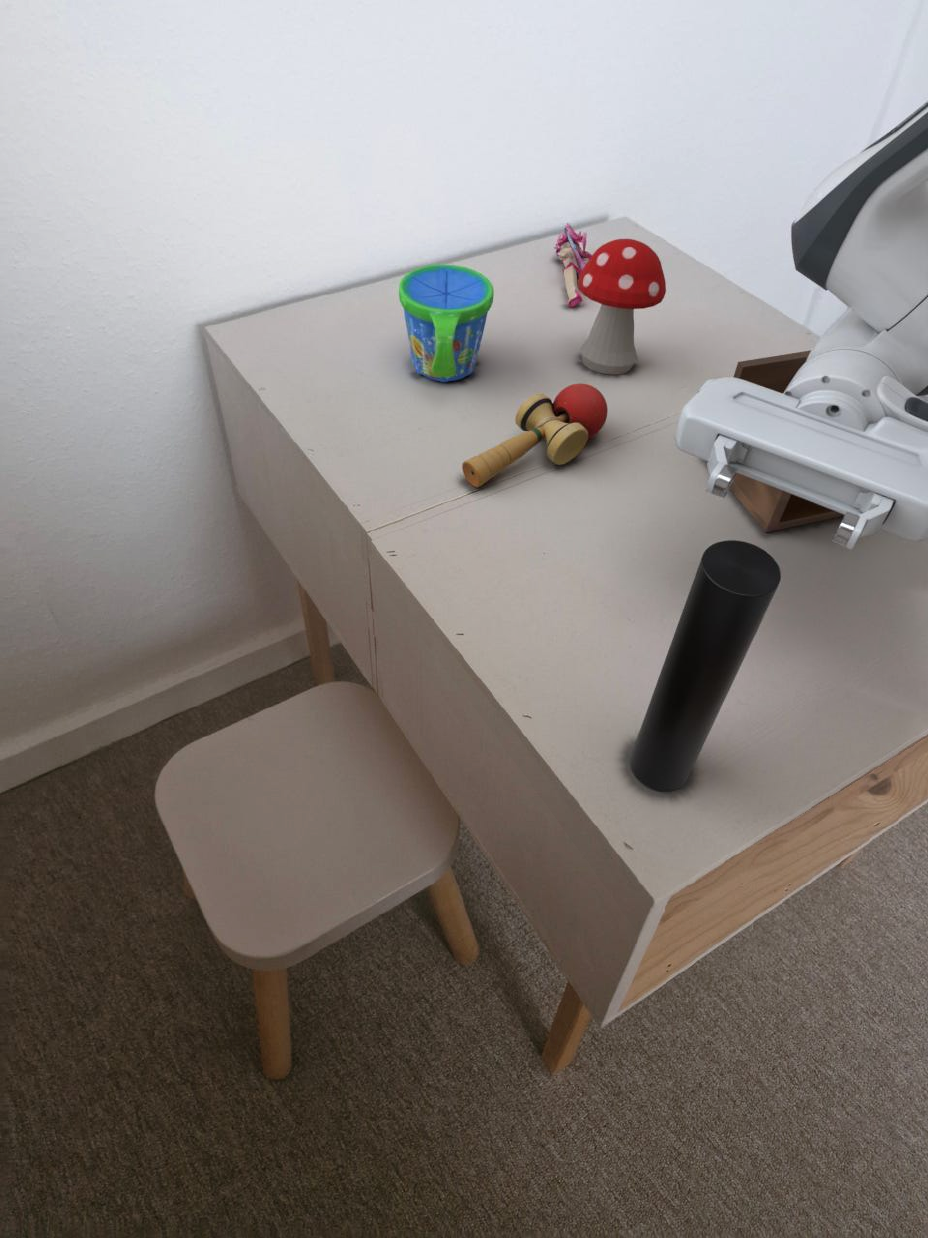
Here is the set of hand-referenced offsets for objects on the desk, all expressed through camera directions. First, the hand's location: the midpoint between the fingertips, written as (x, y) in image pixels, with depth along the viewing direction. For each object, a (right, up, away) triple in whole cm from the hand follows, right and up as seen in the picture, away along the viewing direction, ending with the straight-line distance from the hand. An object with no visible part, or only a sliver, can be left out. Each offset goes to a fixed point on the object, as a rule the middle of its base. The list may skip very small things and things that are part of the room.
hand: (779, 512), depth 60 cm
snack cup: (-25, +23, +42) cm, 53 cm away
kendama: (-15, +10, +31) cm, 36 cm away
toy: (-7, +39, +57) cm, 70 cm away
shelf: (+11, +7, +29) cm, 32 cm away
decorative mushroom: (-5, +24, +44) cm, 50 cm away
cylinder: (-7, -19, +6) cm, 21 cm away
